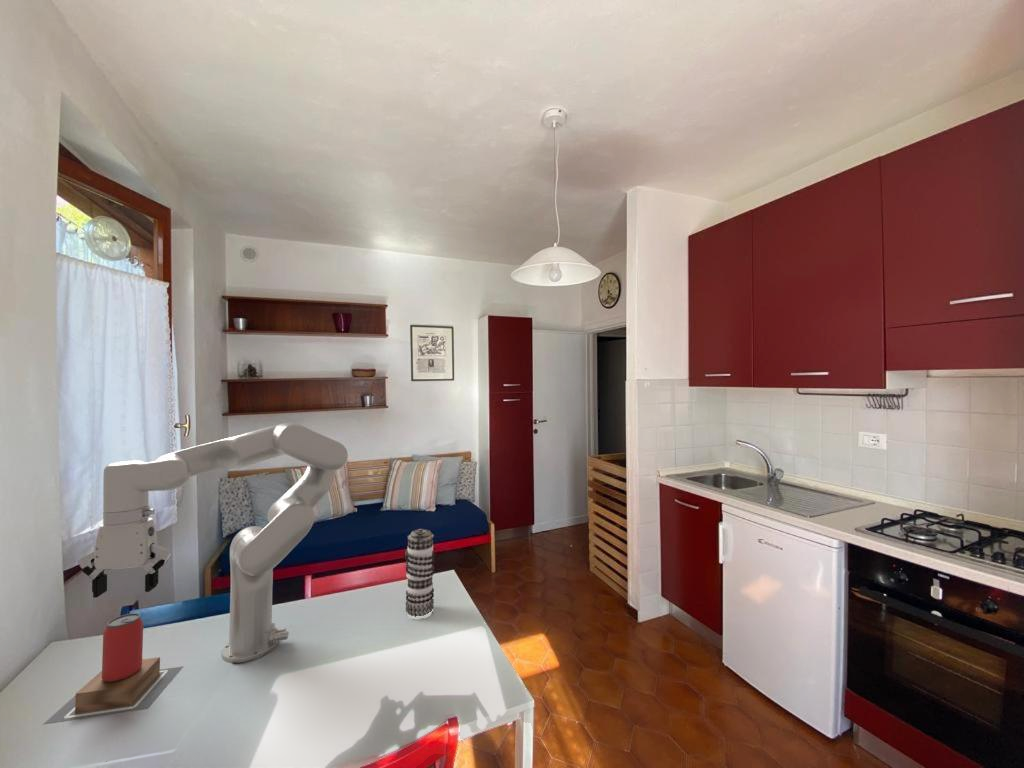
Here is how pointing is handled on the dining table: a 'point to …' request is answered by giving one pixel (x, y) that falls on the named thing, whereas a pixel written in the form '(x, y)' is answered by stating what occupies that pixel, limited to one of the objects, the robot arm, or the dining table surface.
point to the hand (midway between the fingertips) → (125, 591)
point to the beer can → (122, 647)
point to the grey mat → (141, 703)
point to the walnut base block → (116, 689)
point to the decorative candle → (420, 572)
